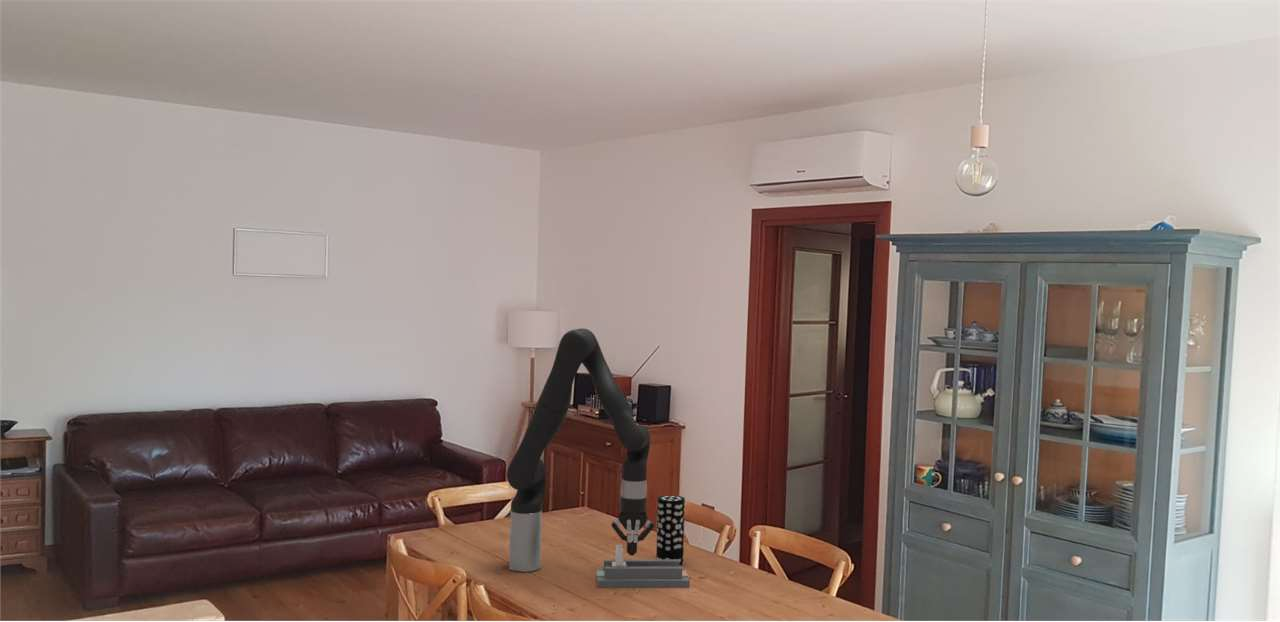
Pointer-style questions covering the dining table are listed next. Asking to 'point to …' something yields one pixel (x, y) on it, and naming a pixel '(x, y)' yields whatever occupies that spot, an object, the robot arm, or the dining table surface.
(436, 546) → the dining table surface
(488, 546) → the dining table surface
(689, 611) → the dining table surface
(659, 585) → the breaker panel
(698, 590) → the dining table surface
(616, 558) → the breaker handle
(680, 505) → the spotted tube
